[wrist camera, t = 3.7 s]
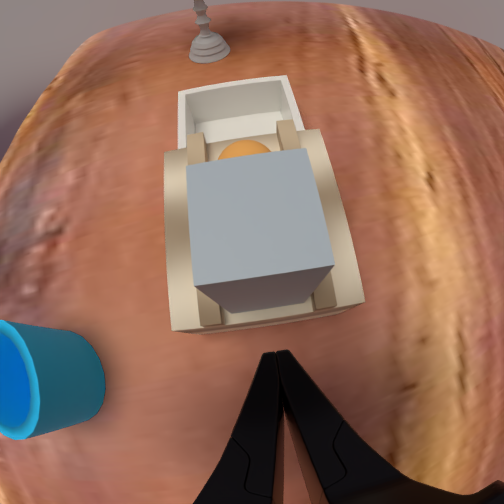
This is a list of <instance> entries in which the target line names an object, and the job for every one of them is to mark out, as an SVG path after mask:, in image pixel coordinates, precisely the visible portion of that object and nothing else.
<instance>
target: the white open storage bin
mask: <svg viewBox="0 0 504 504" xmlns="http://www.w3.org/2000/svg"><path fill="white" fill-rule="evenodd" d="M289 119H293V121H294V125H295V128H296V131H301V130H305V129H304V126H303V123H302V119H301V116H300V113H299V110H298V107H297V104H296V101H295V98H294V95H293V92H292V89H291V87H290V84H289V81H288V78H287V75H284V76H273V77H263V78H254V79H247V80H239V81H232V82H226V83H220V84H214V85H208V86H203V87H198V88H193V89H188V90H184V91H179V92H178V149H181V148H186V147H187V135H190V134H195V133H200V132H203V133H204V136H205V140H206V143H213V142H218V141H224V140H230V139H237V138H243V137H250V136H257V135H265V134H273V133H276V121H280V120H289Z"/></svg>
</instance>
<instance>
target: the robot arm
mask: <svg viewBox="0 0 504 504" xmlns="http://www.w3.org/2000/svg"><path fill="white" fill-rule="evenodd" d="M283 407H284V409H283ZM284 412H285V416H286V420H287V423H288V426H289V430H290V433H291V437H292V440H293V443H294V447H295V450H296V453H297V457H298V460H299V463H300V467H301V470H302V473H303V477H304V480H305V483H306V487H307V490H308V493H309V497H310V500H311V503H312V504H504V482H502V481H499V480H497V481H495V482H493V483H492V484H490V485H488V486H487V487H485V488H484V489H482V490H480V491H479V492H477V493H474V494H470V495H460V494H455V493H452V492H448V491H445V490H442V489H438V488H435V487H432V486H429V485H426V484H423V483H420V482H418V481H415V480H413V479H410V478H409V477H407V476H405V475H404V474H402V473H401V472H400V471H398V470H397V469H396V468H395V467H393V466H392V465H391V464H390V463H389V462H387V461H386V460H385V459H384V458H383V457H382V456H380V455H379V454H378V453H377V452H376V451H375V450H374V449H372V448H371V447H370V446H369V445H368V444H367V443H366V442H365V441H364V440H363V439H362V438H361V437H360V436H359V435H358V434H357V433H356V432H355V431H354V429H353V428H352V427H351V426H350V425H349V424H348V422H347V421H346V420H344V418H343V417H342V415H341V414H340V413H339V412H338V410H337V409H336V408H335V407H334V406H333V404H332V403H331V402H330V401H329V399H328V398H327V397H326V396H325V395H324V393H323V392H322V391H321V390H320V388H319V387H318V386H317V385H316V383H315V382H314V381H313V380H312V378H311V377H310V376H309V375H308V373H307V372H306V371H305V370H304V368H303V367H302V366H301V365H300V363H299V362H298V361H297V360H296V358H295V357H294V356H293V355H292V353H291V352H290V351H289V350H280V351H277V352H276V353H275V352H267V353H263V354H262V356H261V359H260V362H259V365H258V367H257V370H256V373H255V375H254V378H253V380H252V383H251V386H250V388H249V391H248V393H247V396H246V399H245V401H244V404H243V406H242V409H241V411H240V414H239V416H238V419H237V421H236V424H235V426H234V429H233V431H232V434H231V437H230V438H229V441H228V443H227V446H226V448H225V450H224V452H223V454H222V457H221V459H220V461H219V462H218V464H217V466H216V468H215V470H214V471H213V473H212V475H211V476H210V478H209V479H208V481H207V483H206V484H205V486H204V487H203V489H202V490H201V492H200V494H199V495H198V497H197V498H196V500H195V501H194V503H193V504H283V490H284Z"/></svg>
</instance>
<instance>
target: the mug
mask: <svg viewBox="0 0 504 504" xmlns="http://www.w3.org/2000/svg"><path fill="white" fill-rule="evenodd" d="M105 389H106V388H105V377H104V371H103V368H102V365H101V362H100V359H99V357H98V356H97V354H96V352H95V351H94V349H93V347H92V346H91V345H90V344H89V343H88V342H87V341H86V340H85V339H84V338H83V337H82V336H80V335H78V334H76V333H73V332H71V331H65V330H58V329H51V328H45V327H38V326H32V325H26V324H20V323H15V322H10V321H4V320H0V432H1V433H2V434H3V435H5V436H7V437H9V438H11V439H14V440H20V439H27V438H31V437H35V436H38V435H42V434H45V433H49V432H52V431H56V430H59V429H62V428H65V427H69V426H72V425H75V424H78V423H81V422H84V421H87V420H89V419H90V418H92V417H93V416H94V415H96V414H97V413H98V411H99V409H100V407H101V405H102V404H103V400H104V395H105Z"/></svg>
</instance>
